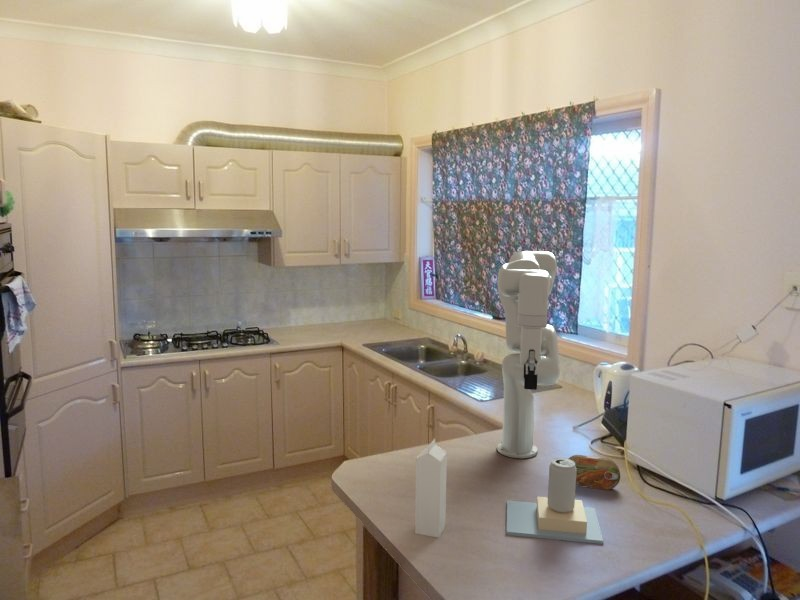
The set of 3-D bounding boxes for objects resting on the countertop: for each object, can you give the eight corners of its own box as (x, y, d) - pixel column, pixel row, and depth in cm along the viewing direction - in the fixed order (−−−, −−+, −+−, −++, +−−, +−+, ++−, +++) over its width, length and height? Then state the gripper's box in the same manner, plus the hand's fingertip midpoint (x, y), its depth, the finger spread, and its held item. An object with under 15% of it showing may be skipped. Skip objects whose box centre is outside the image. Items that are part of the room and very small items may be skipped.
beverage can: (554, 499, 156) (556, 454, 154) (578, 507, 152) (581, 461, 150) (542, 509, 151) (545, 462, 149) (567, 517, 147) (570, 469, 145)
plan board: (507, 503, 162) (507, 489, 162) (594, 510, 158) (594, 496, 158) (506, 534, 147) (507, 519, 146) (603, 544, 143) (604, 528, 142)
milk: (415, 534, 147) (415, 445, 143) (422, 521, 152) (422, 436, 149) (440, 538, 145) (440, 448, 142) (446, 525, 151) (447, 439, 147)
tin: (562, 483, 174) (563, 455, 173) (563, 479, 177) (565, 451, 176) (619, 492, 169) (621, 463, 167) (619, 487, 172) (621, 458, 170)
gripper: (517, 314, 171) (515, 374, 174) (518, 326, 154) (515, 392, 157) (545, 315, 170) (542, 375, 172) (549, 327, 153) (546, 394, 155)
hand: (529, 383), depth 164 cm, fingers open, 9 cm apart
